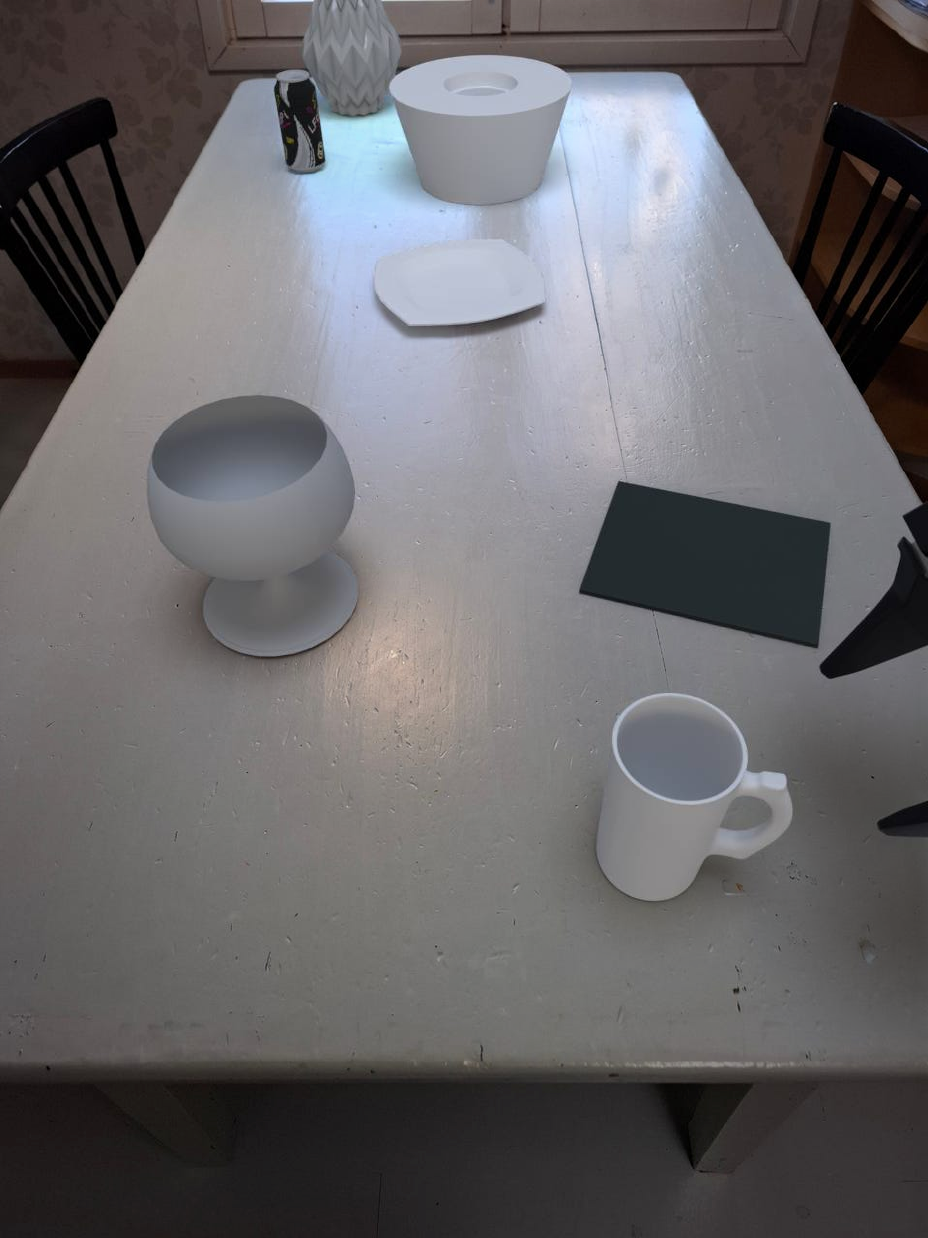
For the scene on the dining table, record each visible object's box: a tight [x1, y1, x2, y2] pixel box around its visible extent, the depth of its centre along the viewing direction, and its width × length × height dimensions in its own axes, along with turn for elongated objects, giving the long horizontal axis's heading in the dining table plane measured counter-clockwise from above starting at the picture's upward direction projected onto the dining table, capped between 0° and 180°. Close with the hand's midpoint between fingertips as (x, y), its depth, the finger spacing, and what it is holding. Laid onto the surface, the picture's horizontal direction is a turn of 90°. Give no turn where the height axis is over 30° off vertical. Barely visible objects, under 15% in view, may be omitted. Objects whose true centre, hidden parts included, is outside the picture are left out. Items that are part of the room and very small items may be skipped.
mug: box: [595, 692, 794, 902], centre depth 48 cm, size 10×7×12 cm, turn 74°
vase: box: [299, 0, 403, 117], centre depth 134 cm, size 16×16×18 cm
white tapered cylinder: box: [389, 54, 573, 206], centre depth 116 cm, size 24×24×12 cm
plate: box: [373, 238, 547, 327], centre depth 98 cm, size 19×19×2 cm
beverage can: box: [273, 69, 326, 174], centre depth 121 cm, size 6×6×12 cm
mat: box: [578, 480, 832, 649], centre depth 69 cm, size 18×14×1 cm
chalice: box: [146, 394, 360, 657], centre depth 62 cm, size 14×14×15 cm
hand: (850, 745), depth 43 cm, fingers open, 9 cm apart
